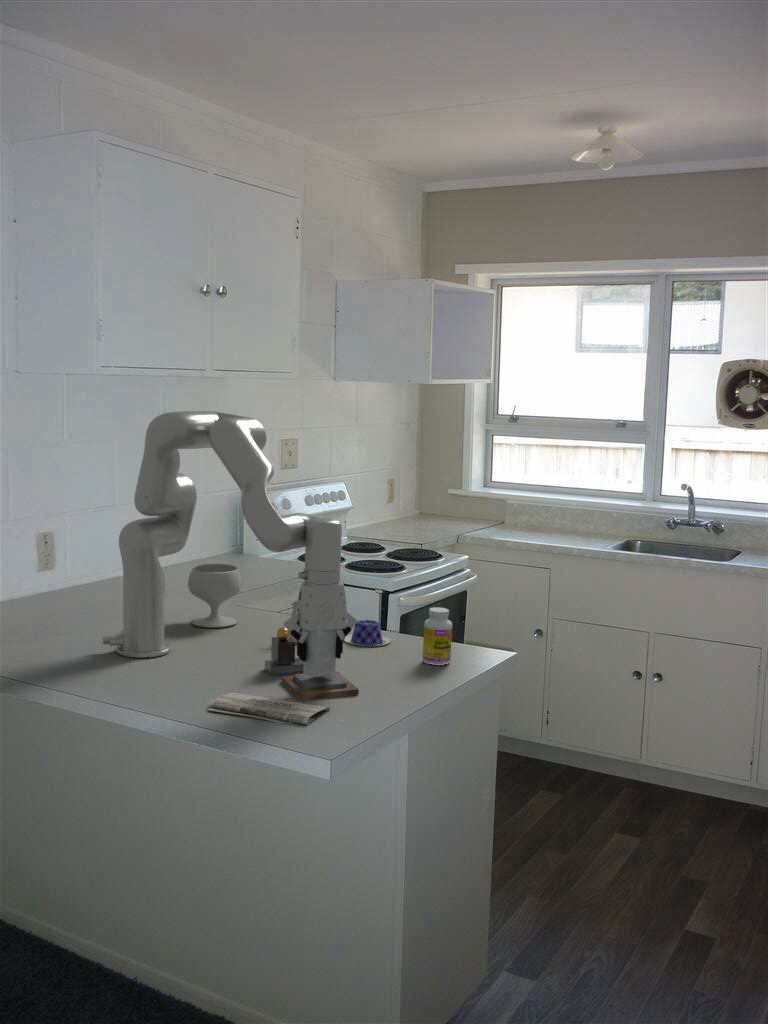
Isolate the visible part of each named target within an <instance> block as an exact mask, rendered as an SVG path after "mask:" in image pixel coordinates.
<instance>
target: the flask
mask: <svg viewBox="0 0 768 1024" xmlns="http://www.w3.org/2000/svg"><path fill="white" fill-rule="evenodd" d="M297 604H298V600H292V602H291V605H292V611H291V616H290V617H292V616H293V615H294V614H295V613H296V612H297ZM293 628H294V629H295V630H296V631H297V632H298V630H299V628H300V627H299V626H297V623H295V624H294V625H293ZM290 638H291V639H292V640H294V641H295V644H297V640H296V639H295V638H294V637H293V636H292V635H291V634H290Z"/></svg>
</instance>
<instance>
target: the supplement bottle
mask: <svg viewBox="0 0 768 1024" xmlns="http://www.w3.org/2000/svg"><path fill="white" fill-rule="evenodd" d="M428 615H429V618H427V619H426V620H425V621H424V624H423V644H422V661H425V662H427V663H433V664H443V663H448V662H450V663H451V655H452V639H453V638H452V637H453V622H452V621H451V620H449V616H450V610H449V609H448V608H445V607H430V608H429V610H428Z"/></svg>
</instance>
